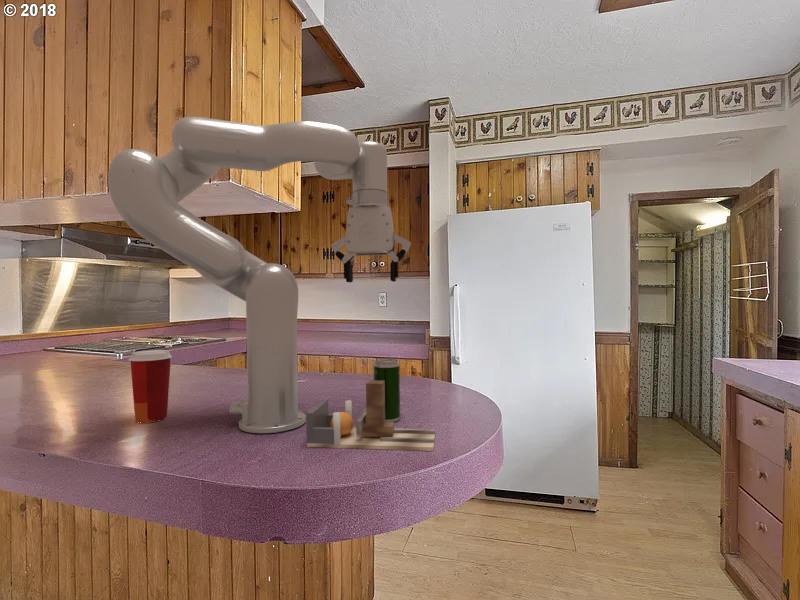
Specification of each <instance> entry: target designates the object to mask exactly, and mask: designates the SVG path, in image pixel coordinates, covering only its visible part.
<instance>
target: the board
mask: <svg viewBox="0 0 800 600" xmlns="http://www.w3.org/2000/svg"><path fill="white" fill-rule="evenodd" d="M435 439H436V429H427V428H425V429H424V428H396V427H394V434H393V436H392V437H368V436H363V435H362V436H361V437H356V426H355V427H354V426H353V428H352V430H351V431H350V433H348V434H347V435H344V436H341V443H340V444H316V443H307V442H306V447H308V448H332V449H334V448H335V449H337V448H338V449H360V450H361V449H365V450H392V451H393V450H394V451H421V452H422V451H424V452H434V449H435Z"/></svg>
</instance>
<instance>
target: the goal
mask: <svg viewBox="0 0 800 600" xmlns="http://www.w3.org/2000/svg"><path fill="white" fill-rule="evenodd" d="M352 403H353V402H352V400H351V399H350V400H349V399H347V400H345V401H344V409H345V410H344V412H346V413H348V414H350V415H351V417H352V418H353V412H352V411H353V410H352V409H353V408H352V407H353V405H352ZM340 412H341V411H335V412H332V413H329V399H322V400H321V401H320V402H319V403H317V404H316V405H315V406H314V407H312V408H311V409H310V410H309V411H307V412H306V414H305V415H306V444H307V443H316V444H340V443H341V435H340ZM332 418H333V428H331V420H332Z"/></svg>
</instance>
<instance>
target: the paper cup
mask: <svg viewBox="0 0 800 600" xmlns="http://www.w3.org/2000/svg"><path fill="white" fill-rule="evenodd" d="M171 358H173V356H172V354H171V353H170V350H167V349H166V350H165V349H161V350H160V349H153V350H142V351H136V352H135V351H133V352H132V353H131V355H130V356H129V358H128V359H127V361H130V370H131V371H130V373H131V383H132V396H133V398H132V399H133V410H134V411H133V413H134V421H135V423H137V422H139V423H138V424H147V423H146V422H152V423H155V422H154V421H157V422H159V421H158V420H161V421H163V420H162V419H164V418H166V417H168V407H169V406H168V405H169V391H170V390H169V388H170V374H171ZM166 419H167V418H166ZM164 420H165V419H164ZM140 422H141V423H140Z"/></svg>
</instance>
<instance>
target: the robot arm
mask: <svg viewBox="0 0 800 600" xmlns="http://www.w3.org/2000/svg"><path fill="white" fill-rule="evenodd" d="M171 143H172V147H173V149H171V150H170V151H169V152H167V153H166V154H165V155H164V156H162V157H161V158H159V157H157V156H156V155H155V154H153V153H151V152H149V151H147V150H143V149H139V148H138V149H137V148H129V149H123V150H122V151H120V152H119V153H117V154H116V155H114V157H113V158H112V160H111V162H110V165H109V169H108V172H107V173H108V175H107V181H108V191H109V194H110V197H111V200H112V203H113V205H114V207H115V208H116V210H117V212H118V214H119V215H120V216H121V218H122V219H123V220H124V222H125V223H126V224H127V225H128V226H129V227H130V228H131V229H132V230H133V231H134V232H136V233H137V234H138V236H140V237H142V238H143V239H144V240H146V241H147V242H148V243H150V244H152V245H154V246H155V247H156V248H158V249H160V250H161V251H163V252H165V253H167V254H168V255H170V256H171V257H173V258H175V259H176V260H178V261H180V262H181V263H183V264H185V265H187V267H190V268H192V269H193V270H194V271H196V272H197V273H198V274H200V275H201V276H202V277H203V278H204V279H206V280H207V281H209V282H211V283H212V284H213V285H216V286H218V288H220V289H223V290H224V291H226V292H228V293H230V294H231V295H233V296H235V297H237V298H239V299H240V300H242V301H244V302H245V306H246V307H245V308H246V309H245V313H246V314H245V315H246V318H245V321H246V323H245V324H246V326H245V327H246V328H245V329H246V330H245V331H246V338H245V339H246V341H245V342H246V385H247V386H246V391H247V392H246V394H247V395H246V396H247V397H246V401H245V402H242V401H232V402H231V403H230V405H229V411H228V412H229V414H230V415H237V414H240V415H241V418H240V419H239V421H238V428H239V429H240V430H241V431H243V432H246V433H249V434H250V433H252V434H273V433H275V434H276V433H281V432H287V431H291V430H294V429H296V428H299V427H301V426H302V425H304V424H305V423H306V422H307V414H305V413H304V412H302V411H299V410H298V409H299V407H298V405H299V403H298V401H299V399H298V398H299V397H298V395H299V394H298V391H299V390H298V388H299V386H298V310H299V285H298V282H297V279H296V277H295V275H294V274H293V272H292V271H291V270H290V269H289V268H287V267H286V266H285V265H282V264H278V263H274V262H273V263H272V262H270V263H267V262H266V261H265V260H262V259H261V258H260V257H257V256H256V255H254V254H252V253H251V252H249V251H248V250H246V249H245V247H244V246H243V244H242V243H241V242H240V241H239V240H238V239H236V238H234V237H233V236H231V235H229V234H226V233H225V232H223V231H222V230H219V229H218V228H217V227H214V226H213V225H211V224H209V223H208V222H206V221H205V220H202V219H201V218H199V216H197V215H195V214H194V213H193V212H191V211H189V210H188V209H186V208H185V207H183V206H182V205H181V204H179V203H180V202H181V201H183V200H184V199H185V198H186V197H188V196H189V195H191V194H192V193H193V192H194V191H196V190H197V189H199V188H200V187H202V186H203V185H204V184H205V183H206V182H208V181H209V180H210V179H211V178H212V177H213V176H214V175H216V174H217V173H218V172H219V170H220V169H221V168H223V169H224V168H225V169H234V170H243V171H244V170H245V171H255V172H266V171H271V170H274V169H277V168H278V167H281V166H283V165H285V164H289V163H296V162H313V163H314V168H315V170H316V172H317V174H318V175H320V176H321V177H323V179H326V180H331V181H342V180H352V193H351V196H350V197H348V198H347V197H346V199H345V202H346V205H350V206H352V207H349V208H348V212H347V218H346V228H345V236H343V237H341V238H339V239H337V240H335V241H334V242H333V243H331V245H330V246H331V248H332V250H333V252H334V254H335V257H336V258H338V259H339V261H340V262H341V263H342V264H343V278H344V279H346V280H345V282H346V283H353V282H354V275H353V274H354V272H353V271H354V270H353V269H354V268H353V264H352V261H354V259H355V258H356V256H388V257H389V258H390V259H391V262H390V264H389V265H390V270H389V271H390V272H389V273H390V274H389V276H390V277H389V279H390V281H391V282H397V280H396V279H397V278H399V263H400V262H401V261H402V260H403V259H404V258H405V257H406V255H407V253H408V251H409V249H410V247H411V246H412V244H411V241H410V240H408V239H406V238H404V237H402V236H400V235H397V234H395V229H394V219H393V214H392V209H391V206H388V205H389V204H388V203H389V202H388V152H387V148H386V147H385V145H383V144H382V143H380V142H377V141H369V140H368V141H362V142H359V139H358V137H357V135H355V134H354V132H352V131H351V130H349V129H348V128H346V127H344V126H341V125H336V124H331V123H326V122H325V123H324V122H320V121H319V122H317V121H307V120H306V121H305V120H303V121H302V120H300V121H290V122H282V123H275V124H274V123H273V124H269V125H261V124H253V123H252V124H251V123H245V122H240V121H239V122H238V121H230V120H223V119H216V118H209V117H203V116H202V117H201V116H185V117H181V118H180V119H179V120H178V121H176V123H175V124H174V126H173V128H172V132H171ZM395 242H396V243H399V244H401V245H402V247H401V250H399V251H398V253H395V248H396V246H395ZM344 245H345V251H346V253H345V254H344V253H343V252H342V251H341V247H343V246H344Z"/></svg>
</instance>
